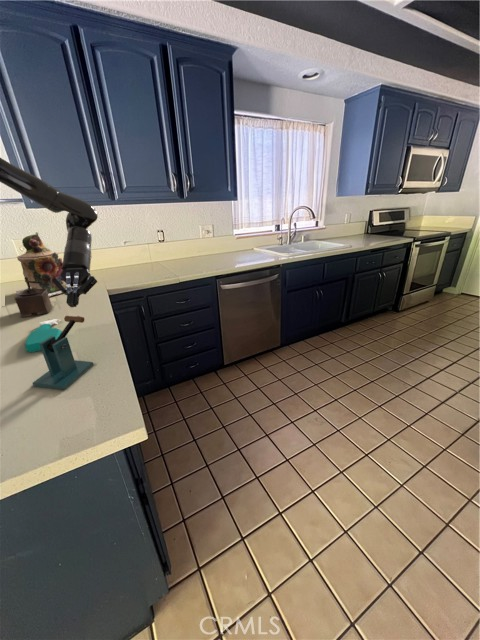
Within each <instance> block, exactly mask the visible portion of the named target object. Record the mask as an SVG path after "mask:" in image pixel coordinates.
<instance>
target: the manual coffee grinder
mask: <svg viewBox="0 0 480 640" xmlns="http://www.w3.org/2000/svg"><path fill="white" fill-rule="evenodd" d="M41 279H42V280H43V282H38V281H29V280H28V278H27V277H24V282H25V283H26V286H27V288H28V289H27V288H25V289H26V290H24V289H23V290H24V291H21V292H20V293H19V294H18V293H17V294H16V295H15V296H14V300H15V303H16V306H17V308H18V311H19V313H20V316H21V318H26V317H35V316H40V315H45V314H49V313H50V312H51V311H52V308H53V304H52V302H51V299H50V298H51V297H49V295H48V292H47V289H36V288H31V287H30V284H29V282H30V283H40V284H45V285H49V284H50V283H49V281H50V279H51V276H50V275H48V274H42V275H41Z"/></svg>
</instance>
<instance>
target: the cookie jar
mask: <svg viewBox="0 0 480 640" xmlns="http://www.w3.org/2000/svg"><path fill="white" fill-rule="evenodd" d="M21 241H22V242H21V243H22V246H23V247H24V248H25V250H26V251H25V252H24V253H22V254H19V255H18V256H16V258H17V261H19V262H20V265H21V269H22V275H23V277H24V278H25V277H27V278H28V280H29V281H38V282H43V280H42V279H41V275H42V274H48V275H50V276H51V279H50V281H49V283H50V284H49V285H45V284H40V283H30V282H29V284H30V287H31V288H36V289H47V292H48V295H49V298H51V297H52V296H55V295H60V294H63V293H62V292H61V291H60V290H59V288H58V287H57V286H56V285H55V284H54V283H53V281H52V278H58V277H60V274H61V272H62V270H63V269H62V265H63V258H62V257H59V253H58V252H57V251H53V250H51V249H50V248H47V247H46V246H45V245H44V243H43V241H42V239H41V237H40V236H39V232H38V231H36V232H35V234H31V235H27V236H25V237H24V238H23V239H22V240H21ZM62 285H63V287H64V288H65V289H66V290H67V286H66V283H65V282H64V280H63V284H62ZM26 289H28V287H27V288H24V289H20V290H16V291H15V292H16V294H17V295H18V294H19V293H20V292H21V291H24V290H26Z"/></svg>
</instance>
